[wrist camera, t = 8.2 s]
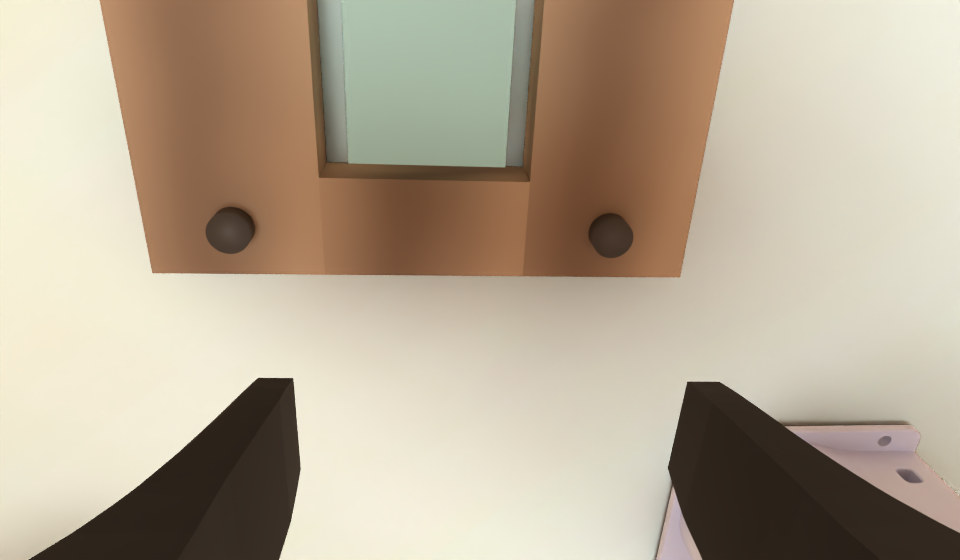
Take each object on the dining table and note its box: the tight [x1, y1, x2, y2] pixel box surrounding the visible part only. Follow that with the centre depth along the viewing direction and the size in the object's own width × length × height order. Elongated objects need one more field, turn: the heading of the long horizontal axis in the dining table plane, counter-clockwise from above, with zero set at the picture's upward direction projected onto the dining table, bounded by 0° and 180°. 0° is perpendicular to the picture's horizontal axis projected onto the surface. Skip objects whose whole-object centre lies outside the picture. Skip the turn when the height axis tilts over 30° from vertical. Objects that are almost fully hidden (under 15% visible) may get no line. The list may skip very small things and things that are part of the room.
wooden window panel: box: [100, 0, 734, 277], centre depth 18 cm, size 16×10×3 cm, turn 88°
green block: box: [341, 0, 516, 167], centre depth 16 cm, size 4×4×5 cm
